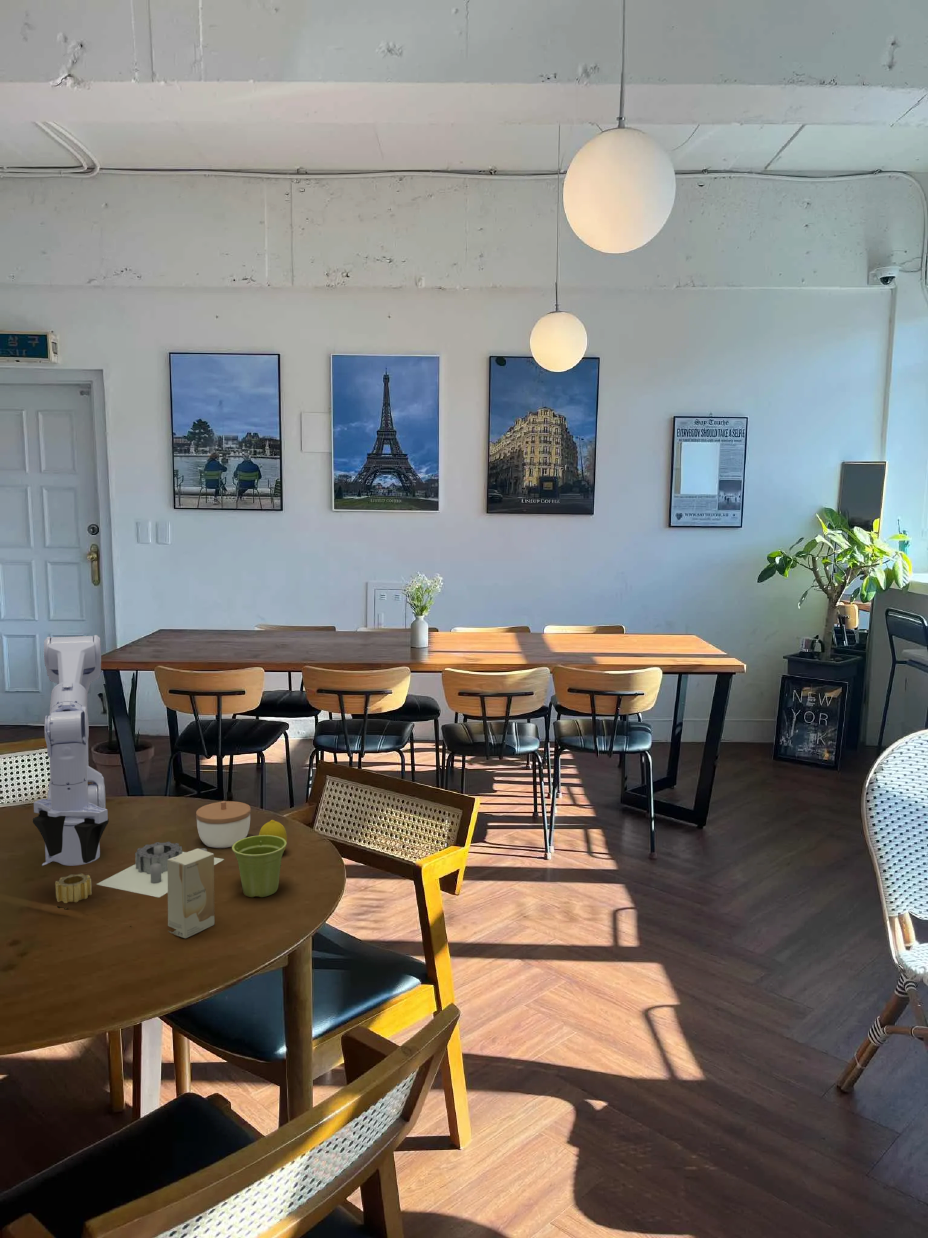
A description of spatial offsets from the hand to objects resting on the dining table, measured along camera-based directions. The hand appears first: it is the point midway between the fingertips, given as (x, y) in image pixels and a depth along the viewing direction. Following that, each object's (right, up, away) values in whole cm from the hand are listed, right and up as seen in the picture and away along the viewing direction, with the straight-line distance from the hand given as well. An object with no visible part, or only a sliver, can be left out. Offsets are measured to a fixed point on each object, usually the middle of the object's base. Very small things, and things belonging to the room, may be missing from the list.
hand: (72, 857), depth 143 cm
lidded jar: (+18, -6, +27) cm, 33 cm away
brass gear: (0, -8, +1) cm, 8 cm away
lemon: (+30, -6, +20) cm, 37 cm away
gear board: (+11, -7, +11) cm, 18 cm away
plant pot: (+31, -8, +6) cm, 32 cm away
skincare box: (+23, -10, -8) cm, 26 cm away
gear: (+10, -6, +14) cm, 18 cm away
